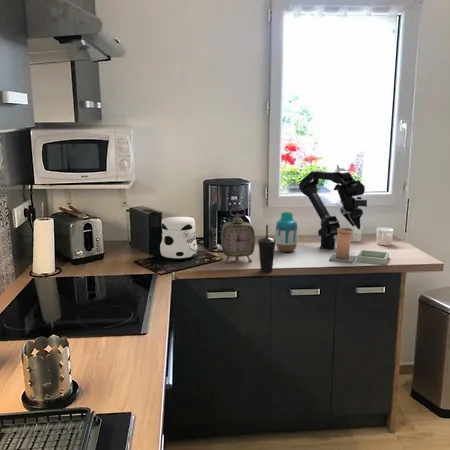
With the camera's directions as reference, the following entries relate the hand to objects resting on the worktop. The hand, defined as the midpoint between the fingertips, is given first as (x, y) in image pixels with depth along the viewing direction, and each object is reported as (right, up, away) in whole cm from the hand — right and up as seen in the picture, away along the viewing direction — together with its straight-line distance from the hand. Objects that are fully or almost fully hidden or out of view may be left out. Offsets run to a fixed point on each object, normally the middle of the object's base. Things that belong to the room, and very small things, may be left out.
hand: (356, 227), depth 243 cm
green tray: (+5, -15, -11) cm, 19 cm away
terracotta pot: (-9, -13, -10) cm, 19 cm away
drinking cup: (-45, -19, -27) cm, 56 cm away
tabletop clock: (-57, -16, -13) cm, 61 cm away
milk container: (-85, -14, -5) cm, 86 cm away
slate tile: (-9, -14, -10) cm, 20 cm away
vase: (-33, -12, +5) cm, 36 cm away
